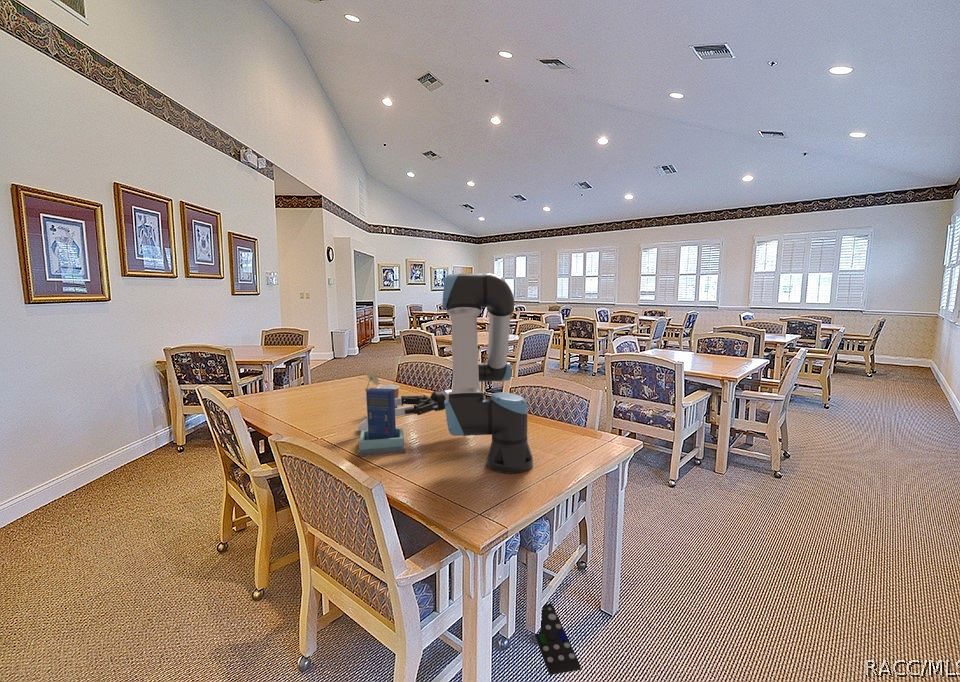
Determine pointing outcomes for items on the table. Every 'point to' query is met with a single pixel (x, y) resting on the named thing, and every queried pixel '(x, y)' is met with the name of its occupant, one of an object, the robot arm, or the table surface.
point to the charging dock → (381, 444)
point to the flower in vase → (374, 379)
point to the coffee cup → (395, 387)
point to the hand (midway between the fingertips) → (389, 408)
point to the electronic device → (381, 413)
